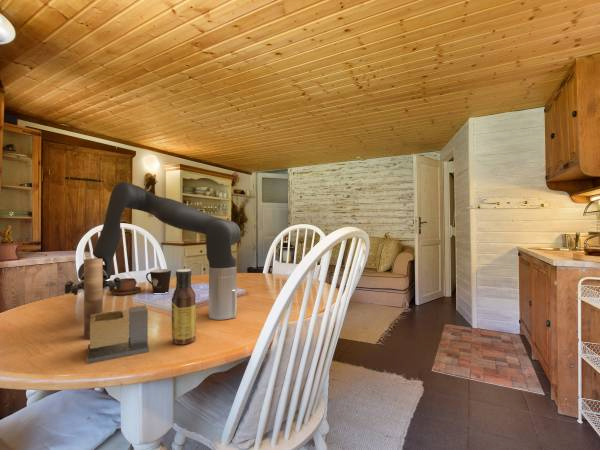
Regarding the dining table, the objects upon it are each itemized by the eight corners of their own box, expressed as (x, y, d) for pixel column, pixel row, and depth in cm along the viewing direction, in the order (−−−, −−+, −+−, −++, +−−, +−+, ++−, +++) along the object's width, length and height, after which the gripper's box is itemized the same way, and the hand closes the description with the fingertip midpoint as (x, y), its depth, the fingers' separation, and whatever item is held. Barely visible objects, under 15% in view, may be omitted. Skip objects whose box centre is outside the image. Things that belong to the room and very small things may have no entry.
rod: (105, 333, 92) (105, 258, 92) (97, 339, 88) (97, 260, 88) (89, 334, 92) (89, 258, 91) (80, 339, 87) (80, 260, 87)
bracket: (88, 348, 82) (88, 309, 82) (144, 338, 89) (144, 303, 89) (87, 363, 74) (87, 320, 73) (148, 351, 80) (149, 312, 80)
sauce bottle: (177, 336, 91) (177, 267, 90) (199, 337, 90) (199, 267, 90) (167, 345, 84) (167, 271, 84) (190, 346, 84) (190, 271, 84)
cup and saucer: (118, 290, 146) (118, 277, 146) (145, 290, 147) (145, 277, 147) (105, 297, 134) (105, 282, 134) (134, 296, 135) (134, 282, 135)
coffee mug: (174, 292, 142) (174, 270, 142) (155, 296, 136) (155, 273, 136) (163, 288, 150) (163, 267, 150) (144, 291, 144) (144, 269, 144)
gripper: (67, 270, 101) (62, 279, 88) (119, 267, 109) (121, 274, 95) (68, 293, 101) (63, 306, 88) (119, 288, 109) (122, 299, 95)
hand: (93, 289), depth 91 cm, fingers open, 8 cm apart
